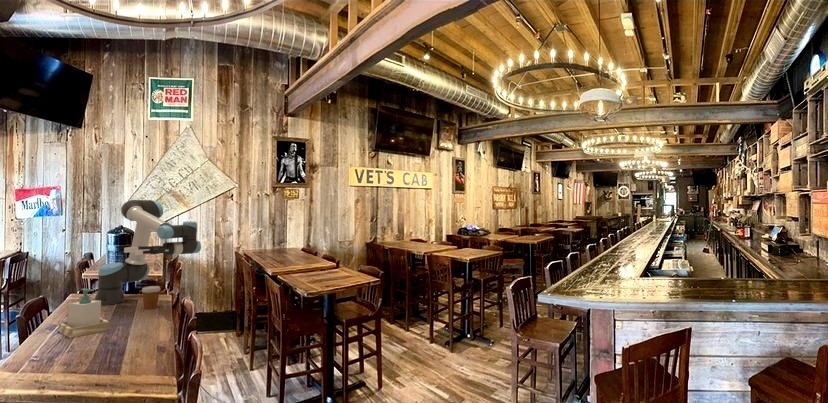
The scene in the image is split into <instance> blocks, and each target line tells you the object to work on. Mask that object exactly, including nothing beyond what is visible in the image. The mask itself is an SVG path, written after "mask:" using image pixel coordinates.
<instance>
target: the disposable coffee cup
mask: <svg viewBox="0 0 828 403" xmlns="http://www.w3.org/2000/svg"><path fill="white" fill-rule="evenodd" d="M141 292H142V299H143V300H142V301H143V302H142V303H143V309H144V308H145V310H151V309H150V308H153V309H156V308H157V307H158V303H159V297H160V292H161V286H158V285H149V286H144V287H142V289H141ZM155 307H156V308H155Z"/></svg>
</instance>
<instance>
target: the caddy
mask: <svg viewBox="0 0 828 403" xmlns="http://www.w3.org/2000/svg"><path fill="white" fill-rule="evenodd" d="M57 330H58V333H61V335H64V336H65V337H67V339H68V338H69V339H73V338H77V337H83V336H87V335H92V334H97V333H102V332H107V331H110V321H109V320H107V319H104V318H102V317H100V323H98V324H93V325H87V326H82V327H77V328H70V327H69V326H68V320H66V321H63V322H59V323H58V329H57Z"/></svg>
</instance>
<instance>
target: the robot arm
mask: <svg viewBox="0 0 828 403" xmlns="http://www.w3.org/2000/svg"><path fill="white" fill-rule="evenodd" d="M120 212H121V215H122V216H123V217H124V218H125V219H127V220H129V221H131V222H136V225H135V230H134V233H133V237H132V242H131V246H130V247H129V246H128V247H124V248H123V253H124V254H126V253H129V255H128V257H127V258H125V260H124V263H123V262H111V263H106V264H103V265H101V266H99V269H98V278H97V279H98V283H97V292H96V294H95V296H94V299H93V300H99V301H101V306H110V305H111V304H112V305H117V304H116V303H118V304H121V303H120V302H122V303H124V302H126V296H125V294H124V291H123V284H126V283H132V282H138V281H142V280H145V279H146V278H147V277H148V276H149V273H150V269H151V268H150V265H149V263H148V260H147V259H146V255H160V254H163V256H165V257H166V256H167V257H168V256H172V255H173V256H176V257H177V256H179V255H190V254H192V255H193V254H198V253H200V251H202V250H201V249H202V243H201V242H200V241H199V240H197V235H198V234H197V233H198V223H197V222H196V221H191V220H190V221H188V220H187V221H183V222H182V224H170V223H169V222H166V220H165V221H164V220H163V219H161V218H162V216H163V214H164V208H163V205H162V204H161V202H160V201H158V200H152V199H131V200H128V201H125V202H124V203H123V205H122V206H121V209H120ZM152 232H155V233H156V235H157V236H158V238H159V239H161V240H169V239H170V240H171V239H181V238H182V239H181V240H182V241H171V242H167V241H165V242H164V243H162V245H152V246H151V245H150V246H149V243H150V239H151V234H152ZM123 301H124V302H123Z"/></svg>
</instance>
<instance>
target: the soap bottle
mask: <svg viewBox="0 0 828 403" xmlns="http://www.w3.org/2000/svg"><path fill="white" fill-rule="evenodd" d="M81 291H82V293H83V295H82V296H81V298H80V299H79V300H77V301H74V302H73V301H72V302H69V303H68V316H67V321H68V326H69V327H70V328H77V327H82V326H87V325H93V324H98V323H100V318H101V312H102V308H101V307H102V305H101V301H99V300H94V299H92V298H90V295H88V294H89V292H94V291H95V290H94V289H90V288H82V289H81Z"/></svg>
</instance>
